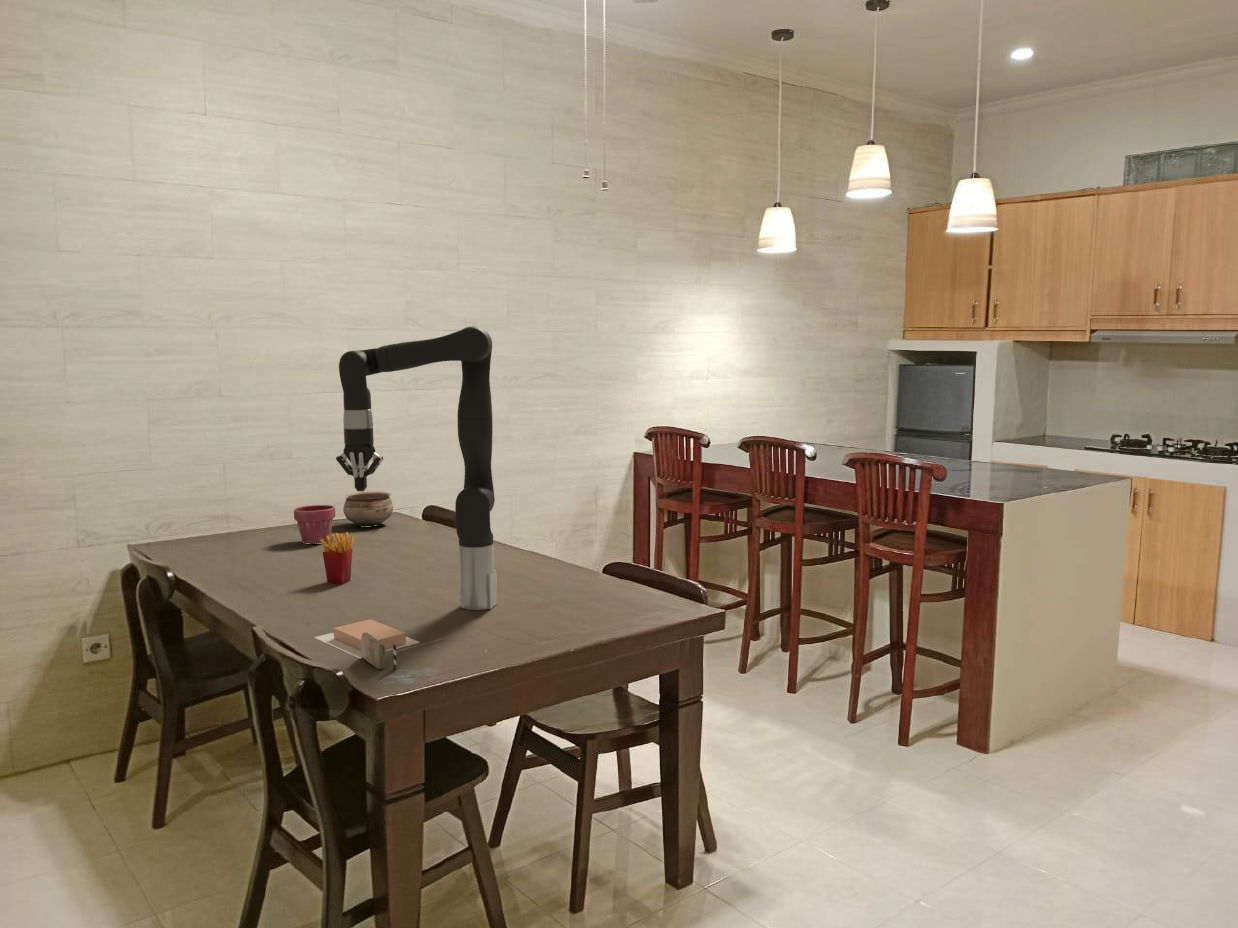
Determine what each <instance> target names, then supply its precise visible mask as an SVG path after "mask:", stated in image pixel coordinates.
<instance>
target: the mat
mask: <svg viewBox="0 0 1238 928" xmlns="http://www.w3.org/2000/svg"><path fill="white" fill-rule="evenodd" d="M313 638H314V639H316V640H318V641H320V642H322V643H325V644H327V645H328V646H329V645H330V646H331V647H333V648H336V649H338V650H340V651H342V652H345V653H346V654H349V655H351V656H353V657H356V658H358V659H364V658H363V657H362V655H361V652H360V649H358V648H355V647H353V646H351V645H349V644H346V643H344V642H342V641H340V640H337V639H335V638H334V632H331V633H327V634H322V635H318V636H313ZM419 643H421V642H420V641H418V640H416V639H413V638H410V637H408V636H406V643H405V644H401V645H397V646H396V650H398V649H401V648H405V647H409V646H412V645H416V644H419ZM385 650H386V652H390V651H391V652H392V651H393V647H390V648H386V649H385Z"/></svg>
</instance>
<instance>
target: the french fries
mask: <svg viewBox="0 0 1238 928" xmlns="http://www.w3.org/2000/svg"><path fill="white" fill-rule="evenodd" d="M334 538H336V542H335V541H334ZM326 539H327V541H328V543H325V541H324V540H323V539H320V541H321V543H322V544H321V545H322V546H323V548H324V551H322V557H323V563H324V569H325V576H326V582H327V585H339V586H340V585H345V584H347V583H349V582H351V574H352V563H353V562H352V561H353V560H352V559H353V548H352V547H353V545H354V541H355V537H354V536H351V537H350V533H349V532H344V535H343V534H341V533H340V534H339V533H338V532H335V533H334V534H332V535H331V536H330V538H329V536H326Z"/></svg>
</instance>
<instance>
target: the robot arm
mask: <svg viewBox="0 0 1238 928" xmlns="http://www.w3.org/2000/svg"><path fill="white" fill-rule="evenodd" d="M492 351H493V340H492V337H491V335H490V334H489V332H488V331H487V330H485V328H482V327H479V326H474V325H473V326H467V327H464V328H462V329H461V330H458V331H457V330H456V332H455V331H454V332H452V333H449V334H446V335H443V336H440V337H438V336H437V337H435V338H430V339H429V338H428V339H421V340H413V341H404V342H398V343H397V342H396V343H391V344H387V345H382V346H379V347H377V348H376V347H375V348H368V349H361V350H360V349H359V350H349V351H346V352H344V353H343V354H342V355H341V357H340V358H339V362H338V372H339V379H340V383H341V389H342V393H343V395H342V396H343V420H342V421H343V439H344V441H343V442H344V448H343V452H342V453H341V454H340V455H338V456H337V455H336V457H335V460H336V461H337V463H338V464H339V465H340V466H341V468H342V469H343V470H344V472H345V473H346V475H348V476H352V477H353V478H354V488H355V490H356V492H366V489H367V488H368V484H367V483H368V479H367V477H368V476H370V475H373V474H374V473H375V472H376V470H377V469H378V467H379V466H380V465H381V463H382V462H383V460H384V456H382V455H379V454H378V453H377V452H376V448H375V447H374V445H375V444H374V441H375V440H374V421H373V419H374V417H373V412H372V395H371V390H370V389H369V388H368V386H367V376H368V377H369V376H371V375H377V374H380V373H391V372H397V371H398V372H399V371H403V370H410V369H415V368H418V367H422V366H426V365H429V364H430V365H431V364H434V363H435V364H436V363H441V362H442V363H443V362H451V361H452V362H459V361H460V362H461V377H462V378H461V388H460V393H459V397H458V398H459V399H458V404H457V405H458V406H457V437H458V443H459V448H460V451H461V455H462V458H463V459H462V460H463V463H464V480H463V481H464V482H463V483H464V484H463V489H462V490H461V491H460V492H459V493H458V494H457V496H456V498H455V499H456V500H455V506H454V510H455V524H456V525H455V526H456V527H455V528H456V534H457V538H458V554H459V555H458V556H459V557H458V559H459V560H458V561H459V588H460V591H459V593H460V595H459V596H460V608H462V609H463V610H468V611H483V610H484V611H485V610H492V609H493V608H494V607H495V606H496V605H497V604H498V587H497V586H498V585H497V584H498V583H497V574H498V573H497V569H495V558H494V557H495V556H494V552H495V551H494V533H493V532H492V528H491V511H492V510H493V508H494V506H495V500H496V498H495V490H494V481H493V473H492V455H493V432H494V431H493V428H494V427H493V406H492V405H493V404H492V393H491V392H492V391H491V382H490V381H491V379H490V378H491V377H490V376H491V375H490V374H491V363H492V361H491V360H492ZM370 461H372V463H371V464H370ZM369 464H370V465H369Z"/></svg>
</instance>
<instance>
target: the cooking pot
mask: <svg viewBox="0 0 1238 928" xmlns="http://www.w3.org/2000/svg"><path fill="white" fill-rule="evenodd" d="M391 495H392V494H391V493H390V492H387V491H358V492H352V493H349V494H345V495H344V498H345V501H344V505H343V511H342V512H343V514H344V516H345V518H346V519H347V521H349V522H351V523H353V524H355V525H357V526H359V527H360V526H374V525H378V526H379V525H381V524H382V523H384V522H385V521H387V520H388V519H389V518H390V517H391V516H392V514H393V511H394V504H393V502H392V499H391Z"/></svg>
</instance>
